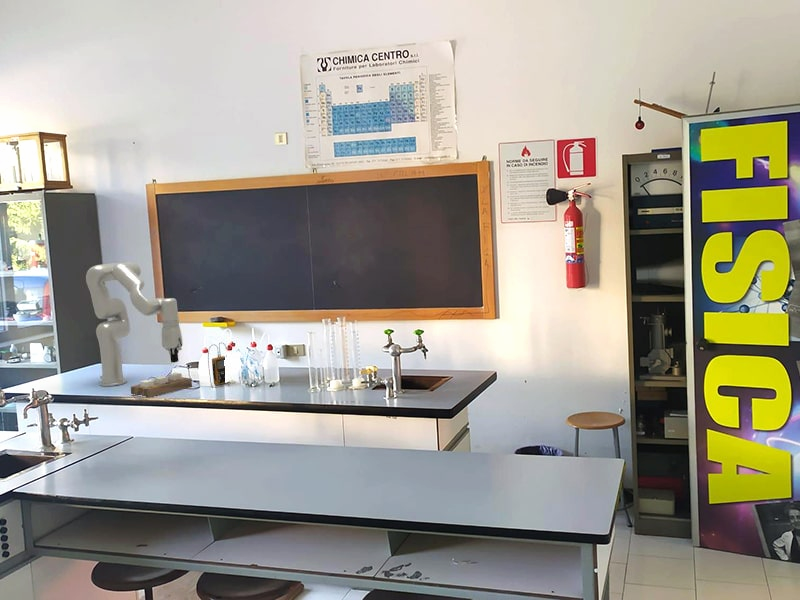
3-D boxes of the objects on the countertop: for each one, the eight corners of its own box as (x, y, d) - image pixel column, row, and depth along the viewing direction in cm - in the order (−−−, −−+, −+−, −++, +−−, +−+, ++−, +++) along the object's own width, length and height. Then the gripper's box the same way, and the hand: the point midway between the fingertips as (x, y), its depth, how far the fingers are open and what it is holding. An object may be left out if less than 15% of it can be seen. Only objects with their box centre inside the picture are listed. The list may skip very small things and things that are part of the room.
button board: (131, 394, 354) (130, 385, 353) (173, 384, 373) (172, 375, 373) (150, 397, 346) (149, 388, 345) (192, 386, 365) (191, 377, 365)
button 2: (168, 384, 365) (168, 374, 365) (176, 382, 369) (175, 372, 368) (174, 384, 363) (174, 375, 362) (182, 382, 366) (181, 373, 366)
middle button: (155, 387, 359) (154, 378, 358) (162, 385, 362) (161, 376, 362) (161, 388, 356) (160, 378, 356) (168, 386, 360) (167, 376, 359)
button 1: (140, 391, 352) (139, 381, 352) (148, 389, 356) (147, 379, 355) (146, 392, 350) (145, 382, 349) (154, 390, 353) (153, 380, 353)
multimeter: (221, 388, 357) (217, 347, 355) (207, 386, 363) (204, 345, 361) (245, 382, 369) (241, 342, 367) (231, 380, 375) (228, 340, 373)
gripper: (154, 325, 364) (158, 362, 366) (174, 325, 355) (178, 364, 357) (167, 322, 370) (171, 359, 372) (187, 323, 361) (191, 361, 363)
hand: (174, 361), depth 364 cm, fingers closed
